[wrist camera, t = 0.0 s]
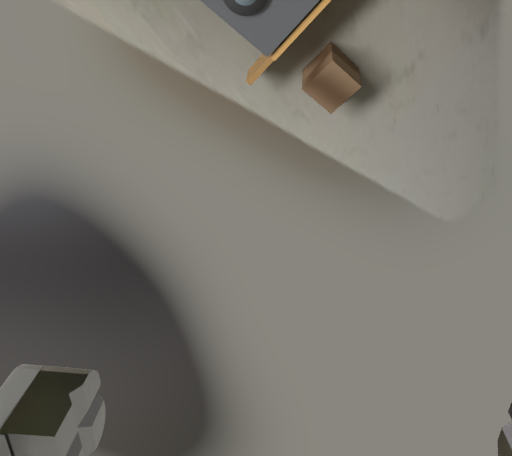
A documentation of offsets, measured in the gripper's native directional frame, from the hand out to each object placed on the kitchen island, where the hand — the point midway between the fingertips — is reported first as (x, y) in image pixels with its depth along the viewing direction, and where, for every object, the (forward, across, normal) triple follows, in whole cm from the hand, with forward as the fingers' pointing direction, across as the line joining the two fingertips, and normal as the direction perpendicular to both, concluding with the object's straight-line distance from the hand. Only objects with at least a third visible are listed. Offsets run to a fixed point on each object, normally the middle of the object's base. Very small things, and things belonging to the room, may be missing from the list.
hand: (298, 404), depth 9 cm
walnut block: (+56, -5, +1) cm, 56 cm away
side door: (+53, 0, -5) cm, 53 cm away
